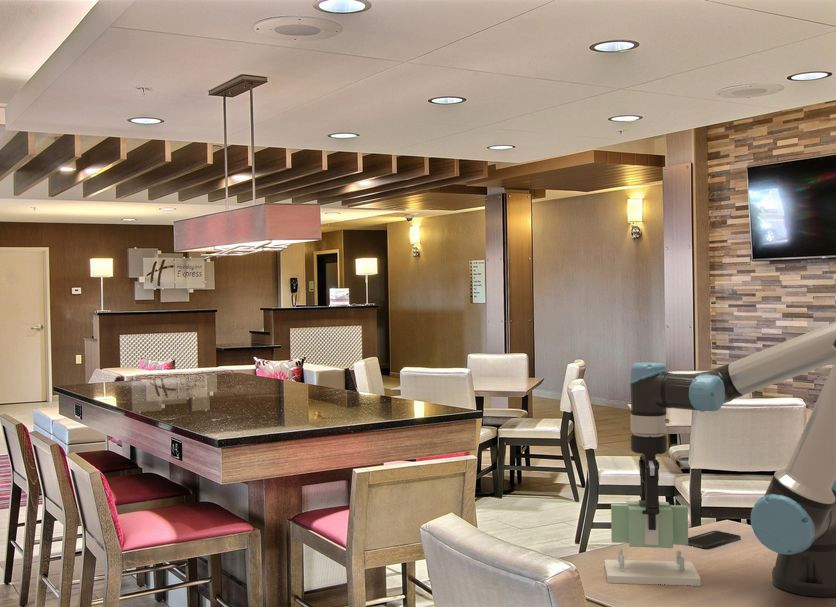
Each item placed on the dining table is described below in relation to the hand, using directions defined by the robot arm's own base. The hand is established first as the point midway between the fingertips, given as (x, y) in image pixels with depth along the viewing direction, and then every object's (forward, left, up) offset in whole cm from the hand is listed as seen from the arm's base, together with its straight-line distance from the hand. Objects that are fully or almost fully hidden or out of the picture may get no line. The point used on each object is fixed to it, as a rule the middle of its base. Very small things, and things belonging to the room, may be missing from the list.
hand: (649, 538), depth 192 cm
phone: (+17, -30, -9) cm, 36 cm away
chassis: (0, 0, -8) cm, 8 cm away
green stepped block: (0, 0, -1) cm, 1 cm away
